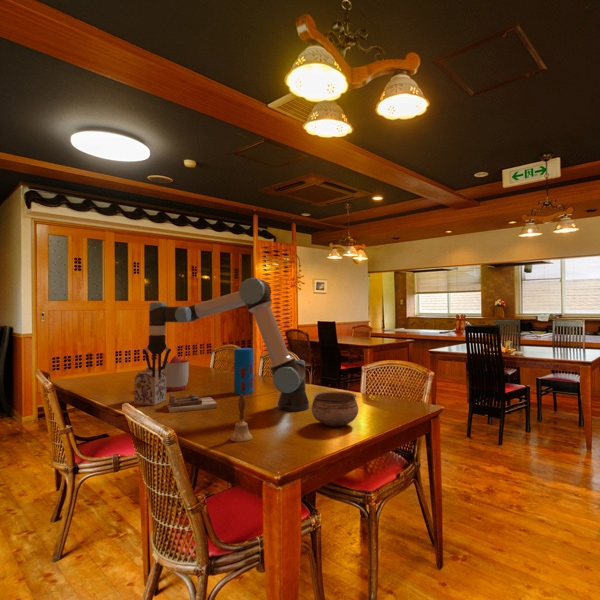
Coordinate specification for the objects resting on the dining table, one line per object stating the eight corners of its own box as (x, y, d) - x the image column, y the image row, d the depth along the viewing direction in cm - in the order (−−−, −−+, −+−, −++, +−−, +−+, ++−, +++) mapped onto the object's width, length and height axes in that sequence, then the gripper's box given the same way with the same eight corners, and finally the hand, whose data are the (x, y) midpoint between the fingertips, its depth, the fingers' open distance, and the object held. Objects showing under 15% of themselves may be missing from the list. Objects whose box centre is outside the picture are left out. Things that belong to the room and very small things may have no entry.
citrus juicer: (181, 385, 251) (181, 353, 251) (193, 389, 238) (193, 355, 238) (156, 388, 241) (156, 355, 241) (167, 393, 227) (167, 358, 228)
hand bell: (253, 434, 151) (253, 392, 151) (251, 441, 143) (251, 397, 143) (231, 434, 151) (231, 392, 151) (228, 442, 142) (228, 397, 143)
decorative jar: (154, 405, 198) (154, 369, 198) (133, 404, 200) (133, 368, 200) (167, 400, 209) (167, 365, 210) (147, 399, 212) (147, 365, 212)
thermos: (257, 392, 229) (257, 348, 229) (245, 395, 220) (245, 350, 220) (242, 390, 235) (242, 347, 235) (230, 393, 225) (230, 349, 226)
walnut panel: (201, 403, 191) (201, 394, 191) (171, 406, 186) (171, 396, 186) (197, 398, 202) (197, 389, 202) (169, 401, 197) (169, 392, 197)
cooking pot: (337, 438, 146) (336, 404, 147) (297, 428, 158) (297, 397, 159) (370, 422, 166) (370, 393, 166) (333, 415, 178) (332, 388, 178)
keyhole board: (217, 408, 192) (217, 397, 192) (169, 412, 184) (169, 401, 184) (211, 401, 207) (211, 391, 207) (166, 405, 198) (166, 394, 198)
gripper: (170, 333, 196) (170, 382, 195) (142, 334, 191) (141, 383, 190) (172, 334, 189) (171, 384, 188) (142, 335, 184) (141, 386, 183)
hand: (156, 384), depth 189 cm, fingers closed
